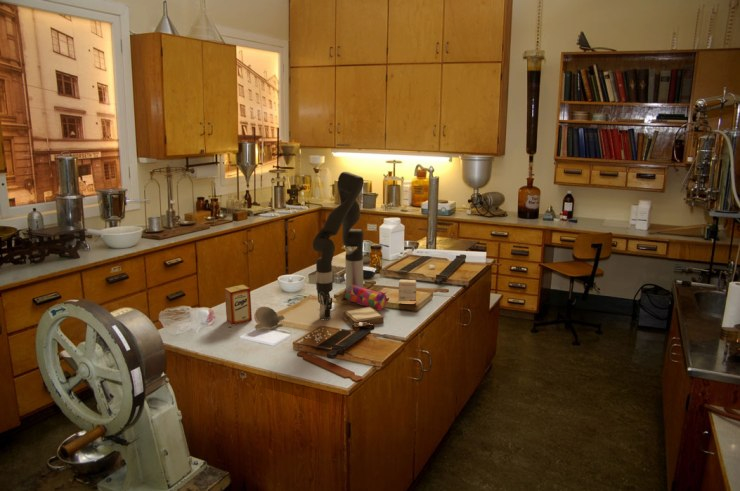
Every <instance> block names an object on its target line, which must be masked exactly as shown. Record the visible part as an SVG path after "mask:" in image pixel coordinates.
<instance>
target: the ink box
mask: <svg viewBox="0 0 740 491" xmlns="http://www.w3.org/2000/svg"><path fill="white" fill-rule="evenodd" d="M399 301H416V302H417V280H416V279H399V280H398V302H399Z"/></svg>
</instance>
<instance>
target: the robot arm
mask: <svg viewBox="0 0 740 491" xmlns="http://www.w3.org/2000/svg"><path fill="white" fill-rule="evenodd" d="M364 182H365V180H364V177H363V176H360V175H357V174H355V173H352V172H349V171H342V172H340V174H339V176H338V179H337V192H338V195H339V201H340V204H339V205H338V206H337V207H335V208H334V209H332V210H331V212H330V213H329V214H328V216H327V219H326V220H325V223H324V225H323V227H322V228H321V229H320V230H319V232H318V233H317V234H316V236H315V237H314V239H313V241H312V249H313V251H315V252H317V253H320V254H321V257H319V258H316V262H315V264H316V265H315V266H316V267H315V268H316V274H315V283H316V285H315V287H316V293H317V302H318V303H319V304H320V303H322V302H323V305H324V309H325V317H329V316H330V315H331V310H333V298H332V297H331V294H330V292H332V291H333V287H334V286H333V284H334V283H333V279H334V278H333V268H332V267H333V266H332V263H333V262H332V261H333V259H334V255H335V249H336V246H335V243H334V240H332V239H330V238H331V237H333V236H337V235H338V233H339V231H340V229H341V227H342V235H341V237H342V244H343V246H345V247H348V248H350V247H351V248H355V249H353V250H350V251H348V252H347V253H345V256H344V258H345V259H344V260H345V291H346V290H347V288H348V287H349V286H351V285H357V286H359V287H363V288H364V231H363V229H361V228H353V227H354V226H355V225H356V224H357V223H358V222H359V220H360V218H361V212H360V211H361V210H360V204H359V202H358V201H357V199H358V197H359V195H360V193H361V191H362V189H363V186H364ZM325 302H326V303H325Z"/></svg>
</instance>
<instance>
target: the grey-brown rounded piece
mask: <svg viewBox="0 0 740 491" xmlns="http://www.w3.org/2000/svg"><path fill="white" fill-rule="evenodd" d="M253 318H254V321H255V323H256V324H255V325H254V329H255V330H256V331H259V329H260V330H262V329H263V330H268V329H270V330H272V329H275V328H277V326H278V324H279V323H280V321H281V322H283V321H284V320H285V319H286V318H285V316H284V315H283V314H282V315H279V316H278V314H277V312H276V311H275V310H274V309H273V308H271V307H269V306H260V307H258V308H257V309H256V311H255V313H254V314H253ZM282 320H283V321H282Z"/></svg>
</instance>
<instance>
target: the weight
mask: <svg viewBox="0 0 740 491" xmlns="http://www.w3.org/2000/svg"><path fill="white" fill-rule="evenodd" d="M325 303H326V302H325ZM318 306H319V319H320V320H321V319H324V320H323V321H326V320H327V319H328V320H331V318H332V317H331V316H332V315H331V314H330V316H329V317H325V309H324V305H323V302H322V303H319V305H318ZM325 319H326V320H325ZM328 320H327V321H328Z"/></svg>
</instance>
